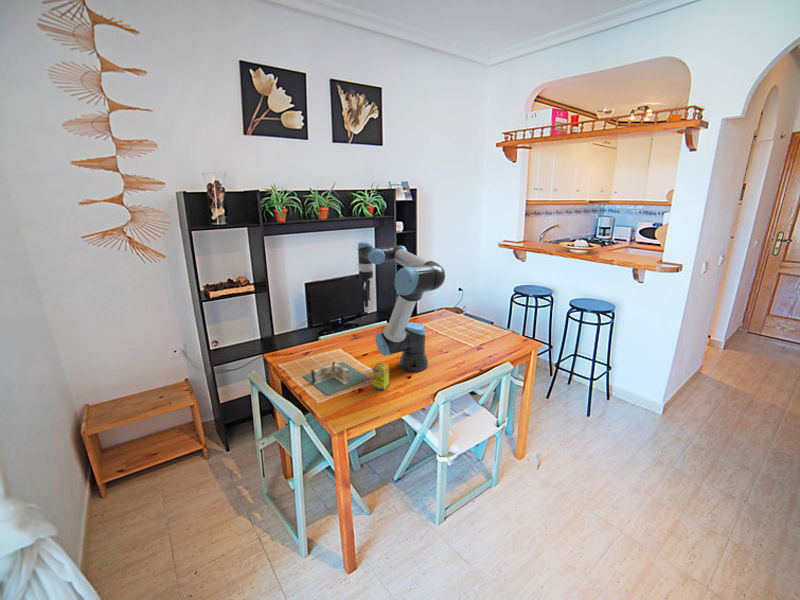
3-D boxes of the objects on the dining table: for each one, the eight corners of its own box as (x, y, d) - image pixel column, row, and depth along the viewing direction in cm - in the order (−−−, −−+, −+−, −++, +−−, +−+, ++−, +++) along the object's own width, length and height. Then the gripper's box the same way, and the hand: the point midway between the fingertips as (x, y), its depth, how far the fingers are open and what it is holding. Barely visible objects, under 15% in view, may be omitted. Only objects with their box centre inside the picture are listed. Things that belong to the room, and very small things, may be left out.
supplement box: (372, 388, 178) (372, 368, 174) (378, 382, 183) (377, 362, 180) (384, 391, 176) (384, 370, 172) (389, 385, 181) (389, 364, 178)
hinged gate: (332, 374, 189) (331, 362, 187) (334, 373, 190) (334, 361, 188) (347, 382, 182) (346, 369, 180) (349, 381, 183) (349, 368, 181)
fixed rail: (331, 375, 189) (330, 363, 187) (333, 376, 188) (332, 364, 186) (311, 382, 182) (310, 370, 180) (313, 384, 181) (312, 371, 179)
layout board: (369, 378, 187) (369, 377, 187) (327, 395, 172) (327, 394, 172) (343, 362, 204) (342, 361, 204) (302, 376, 189) (302, 375, 189)
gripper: (360, 267, 209) (362, 307, 216) (356, 273, 197) (358, 315, 204) (374, 268, 209) (375, 308, 216) (371, 273, 196) (372, 315, 203)
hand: (367, 311), depth 210 cm, fingers closed
